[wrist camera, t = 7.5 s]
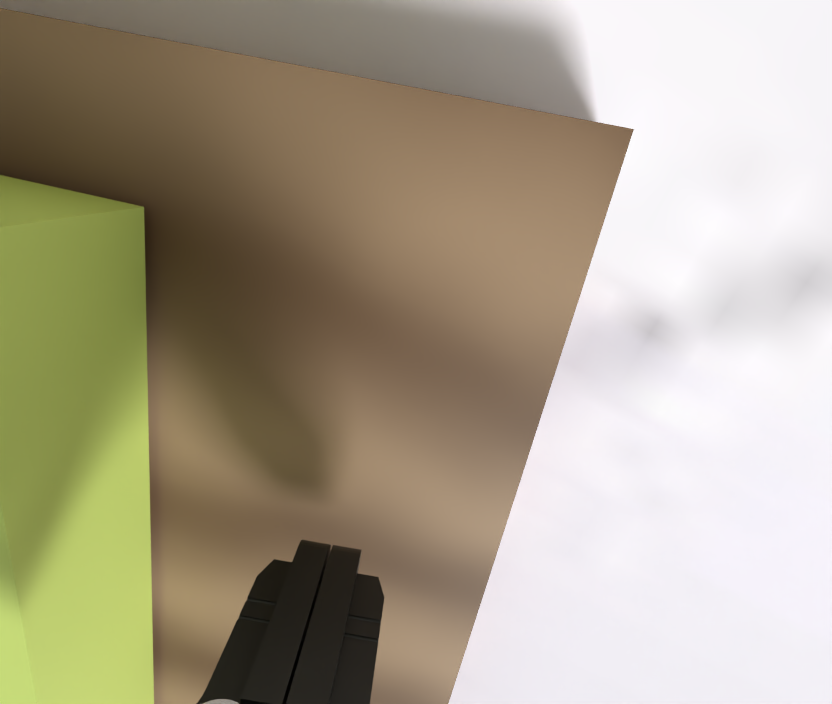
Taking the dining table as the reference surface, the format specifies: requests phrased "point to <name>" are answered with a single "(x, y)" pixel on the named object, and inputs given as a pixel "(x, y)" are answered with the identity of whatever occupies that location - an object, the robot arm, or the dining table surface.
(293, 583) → the robot arm
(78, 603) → the yellow-green long bar
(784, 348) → the dining table surface
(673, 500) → the dining table surface
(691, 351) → the dining table surface
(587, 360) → the dining table surface
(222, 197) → the board
